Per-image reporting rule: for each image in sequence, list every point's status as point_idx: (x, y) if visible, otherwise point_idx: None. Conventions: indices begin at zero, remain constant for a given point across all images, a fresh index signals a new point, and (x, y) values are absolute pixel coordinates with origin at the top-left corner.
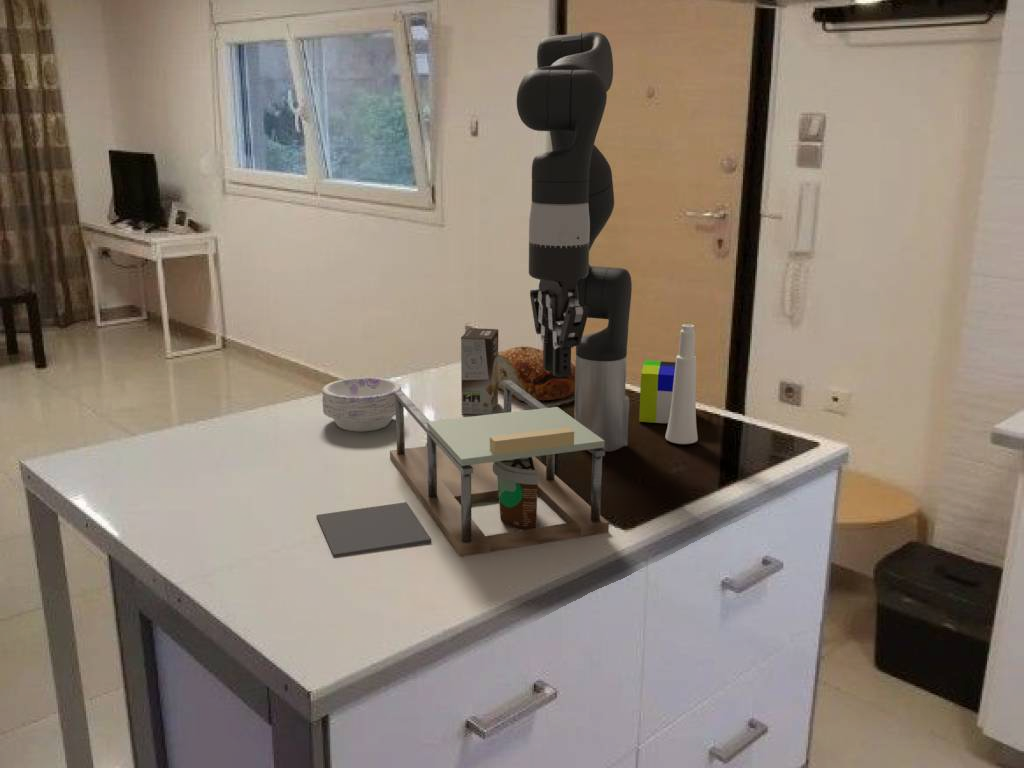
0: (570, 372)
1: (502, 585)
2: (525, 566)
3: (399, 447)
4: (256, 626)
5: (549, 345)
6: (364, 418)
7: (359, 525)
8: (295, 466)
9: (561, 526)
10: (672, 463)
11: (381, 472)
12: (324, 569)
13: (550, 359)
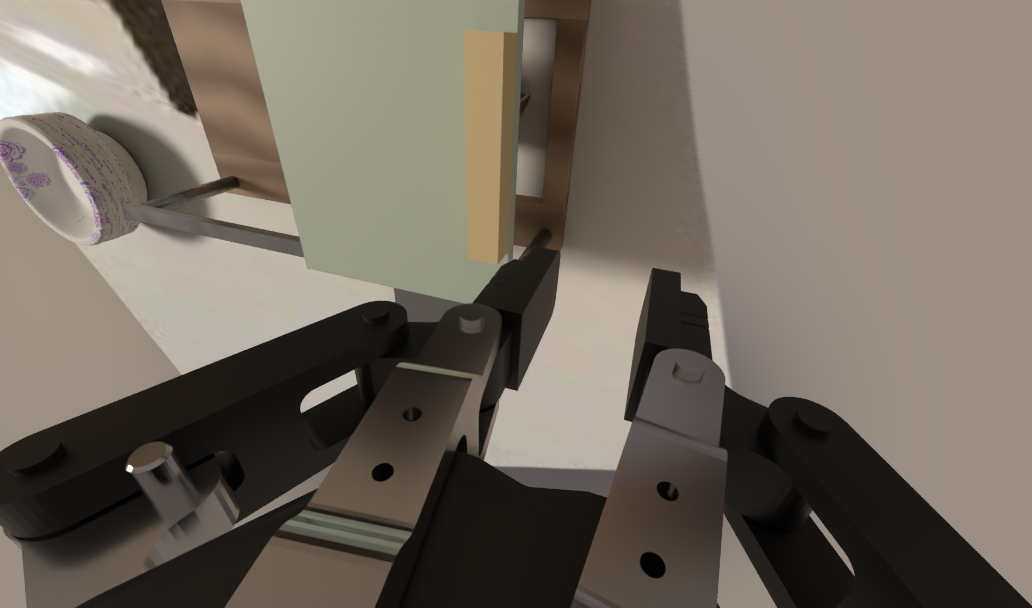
0: (680, 275)
1: (671, 237)
2: (637, 177)
3: (229, 188)
4: (606, 458)
5: (520, 365)
6: (133, 196)
7: (440, 314)
8: (260, 298)
9: (564, 59)
10: None
11: (281, 219)
12: (524, 377)
13: (542, 316)
